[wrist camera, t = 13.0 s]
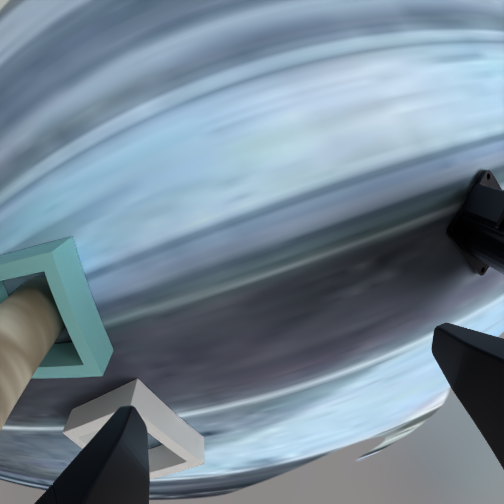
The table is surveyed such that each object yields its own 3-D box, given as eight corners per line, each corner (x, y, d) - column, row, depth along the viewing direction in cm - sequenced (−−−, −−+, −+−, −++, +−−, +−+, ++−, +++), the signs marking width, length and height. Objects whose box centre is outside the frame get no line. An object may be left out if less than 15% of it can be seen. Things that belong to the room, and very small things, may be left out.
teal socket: (72, 236, 18) (51, 251, 15) (113, 349, 21) (102, 376, 18) (-14, 259, 17) (-37, 274, 15) (28, 356, 20) (12, 378, 17)
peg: (81, 314, 20) (-4, 460, 7) (48, 339, 20) (-30, 467, 8) (42, 264, 18) (-79, 382, 6) (12, 295, 18) (-90, 404, 6)
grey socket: (137, 378, 22) (130, 405, 19) (204, 437, 24) (204, 463, 22) (72, 409, 22) (62, 432, 20) (136, 460, 25) (132, 483, 22)
